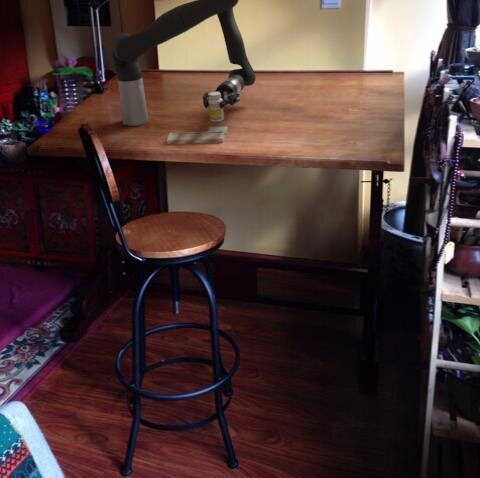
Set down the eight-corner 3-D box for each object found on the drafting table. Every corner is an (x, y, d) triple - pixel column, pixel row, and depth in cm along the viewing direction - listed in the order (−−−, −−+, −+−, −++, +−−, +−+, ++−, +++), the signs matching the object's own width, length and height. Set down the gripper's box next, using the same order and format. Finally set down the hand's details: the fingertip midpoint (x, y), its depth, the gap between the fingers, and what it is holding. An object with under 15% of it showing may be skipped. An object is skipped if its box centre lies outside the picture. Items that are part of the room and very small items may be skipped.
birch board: (167, 144, 222) (166, 140, 221) (170, 137, 228) (169, 132, 227) (223, 142, 220) (222, 138, 219) (224, 135, 226) (224, 130, 225)
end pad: (207, 134, 227) (207, 133, 227) (209, 127, 233) (209, 127, 233) (226, 133, 227) (226, 133, 227) (227, 127, 233) (227, 126, 233)
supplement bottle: (217, 122, 225) (215, 96, 220) (206, 120, 228) (204, 94, 223) (227, 118, 228) (225, 92, 223) (216, 115, 231) (214, 90, 226)
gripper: (210, 80, 237) (193, 94, 223) (246, 81, 232) (231, 96, 219) (211, 99, 240) (195, 114, 227) (247, 100, 236) (233, 116, 222)
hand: (213, 105), depth 223 cm, fingers closed on supplement bottle, 5 cm apart
